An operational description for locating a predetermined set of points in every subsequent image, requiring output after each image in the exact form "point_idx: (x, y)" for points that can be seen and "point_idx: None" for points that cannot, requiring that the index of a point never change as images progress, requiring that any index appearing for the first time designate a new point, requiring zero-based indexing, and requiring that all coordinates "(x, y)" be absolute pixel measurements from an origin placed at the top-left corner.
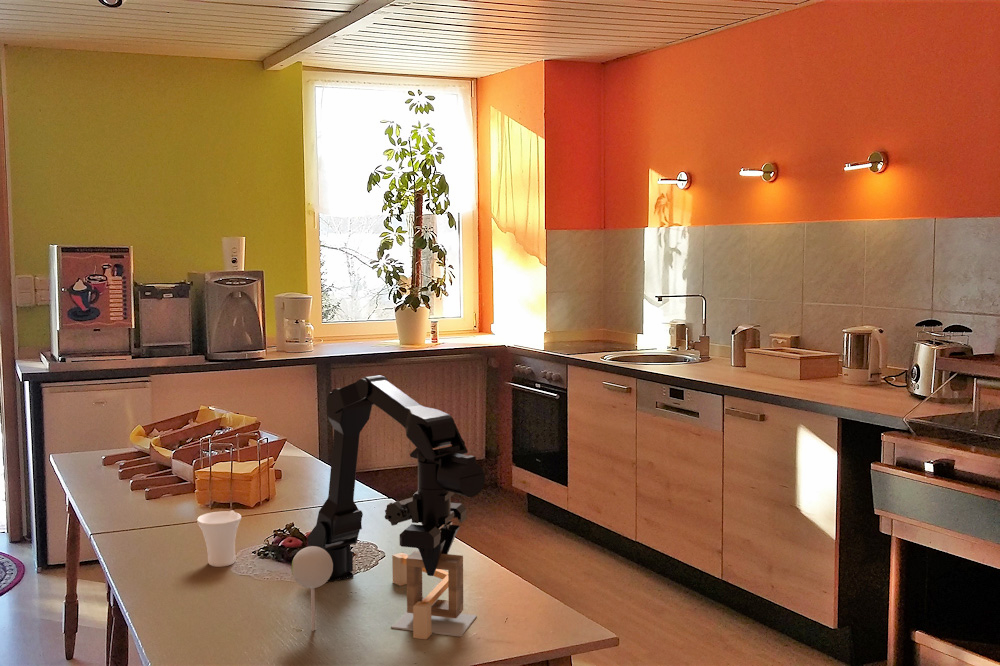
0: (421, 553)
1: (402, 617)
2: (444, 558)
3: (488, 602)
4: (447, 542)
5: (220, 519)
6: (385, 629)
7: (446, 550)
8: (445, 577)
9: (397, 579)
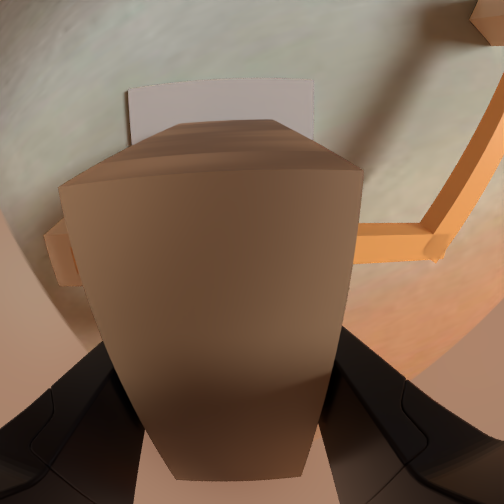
0: (12, 430)
1: (214, 89)
2: (220, 447)
3: (401, 293)
4: (348, 501)
5: None
6: (116, 77)
7: (329, 450)
8: (409, 237)
9: (482, 10)
